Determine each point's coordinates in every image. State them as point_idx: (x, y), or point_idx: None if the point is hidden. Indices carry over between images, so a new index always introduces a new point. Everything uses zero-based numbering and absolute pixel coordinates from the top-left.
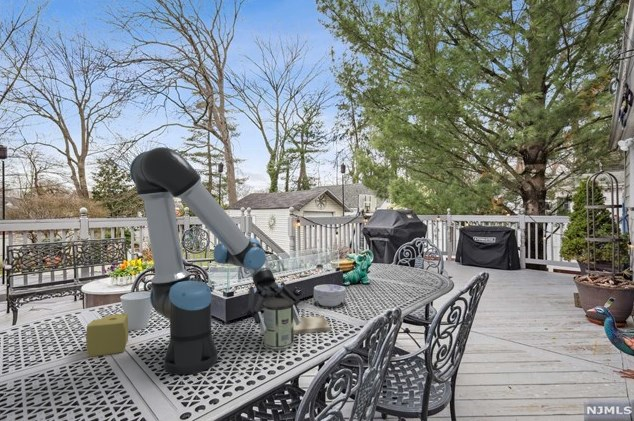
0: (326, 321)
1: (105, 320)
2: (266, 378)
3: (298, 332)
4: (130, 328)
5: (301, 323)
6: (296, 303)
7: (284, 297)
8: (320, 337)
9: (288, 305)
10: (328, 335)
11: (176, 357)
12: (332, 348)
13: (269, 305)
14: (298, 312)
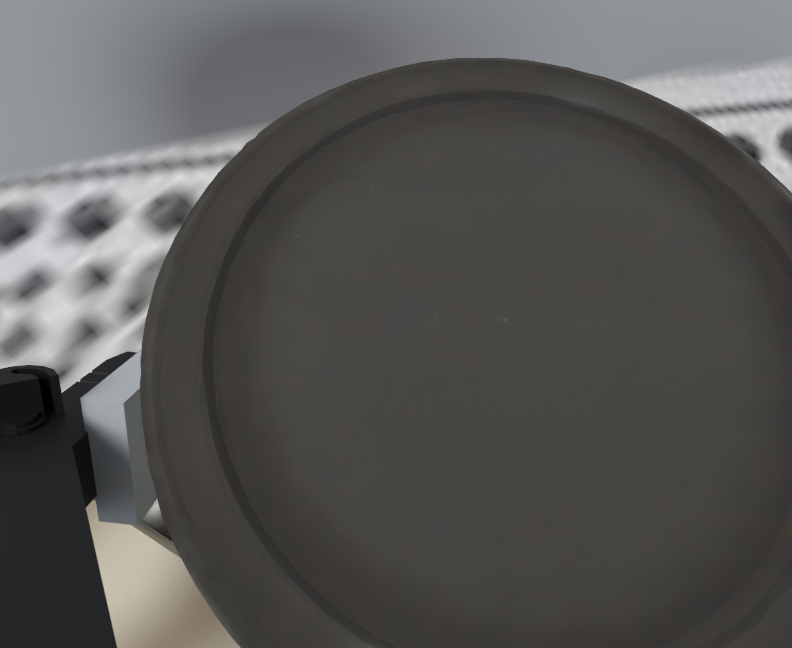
0: None
1: None
2: (718, 130)
3: (144, 527)
4: None
5: None
6: (17, 384)
7: (103, 601)
8: (97, 326)
9: (467, 58)
10: (19, 314)
11: None
12: (205, 152)
13: (785, 294)
14: (130, 355)
